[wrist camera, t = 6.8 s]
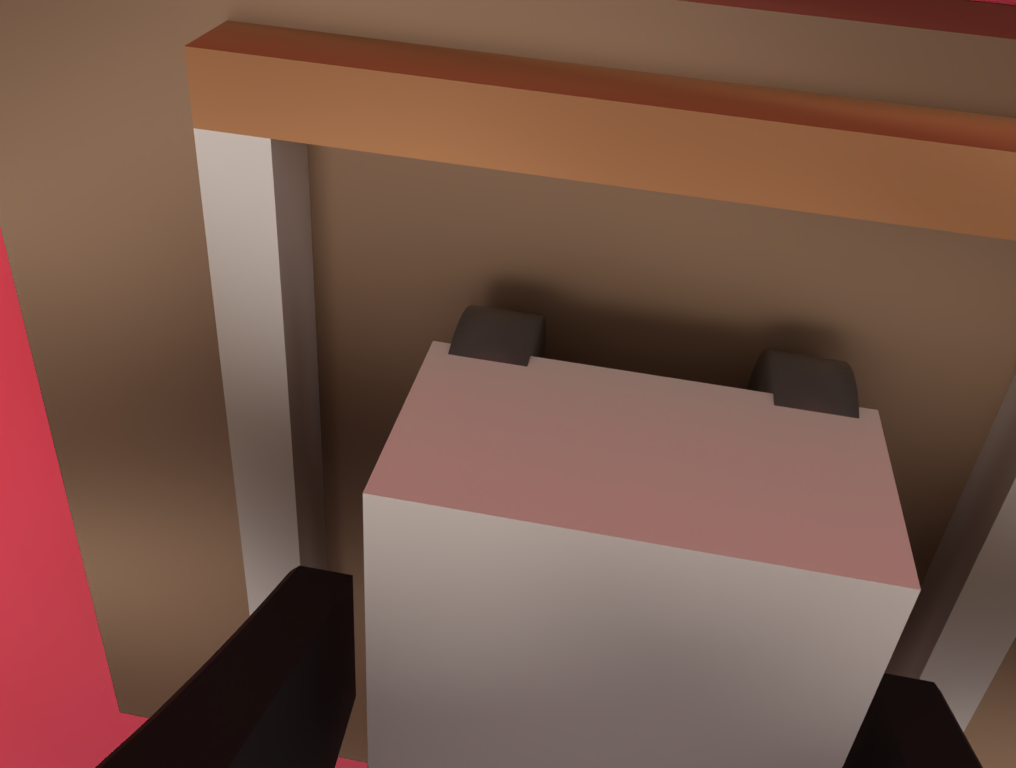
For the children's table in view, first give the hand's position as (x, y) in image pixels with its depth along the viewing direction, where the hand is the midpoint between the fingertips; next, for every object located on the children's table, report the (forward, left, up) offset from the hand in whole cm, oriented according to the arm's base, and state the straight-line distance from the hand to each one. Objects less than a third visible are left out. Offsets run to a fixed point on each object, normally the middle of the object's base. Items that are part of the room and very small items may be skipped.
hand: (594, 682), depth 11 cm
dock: (0, 0, -4) cm, 4 cm away
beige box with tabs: (0, 0, -3) cm, 3 cm away
